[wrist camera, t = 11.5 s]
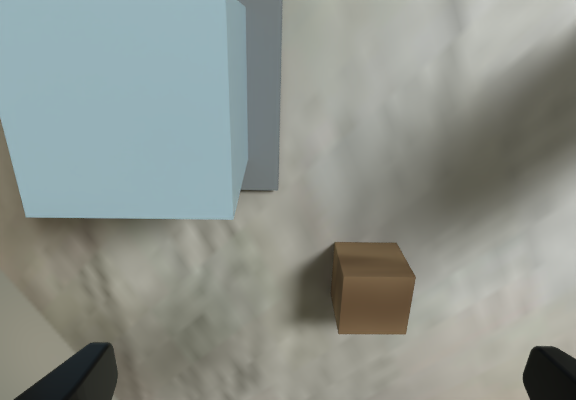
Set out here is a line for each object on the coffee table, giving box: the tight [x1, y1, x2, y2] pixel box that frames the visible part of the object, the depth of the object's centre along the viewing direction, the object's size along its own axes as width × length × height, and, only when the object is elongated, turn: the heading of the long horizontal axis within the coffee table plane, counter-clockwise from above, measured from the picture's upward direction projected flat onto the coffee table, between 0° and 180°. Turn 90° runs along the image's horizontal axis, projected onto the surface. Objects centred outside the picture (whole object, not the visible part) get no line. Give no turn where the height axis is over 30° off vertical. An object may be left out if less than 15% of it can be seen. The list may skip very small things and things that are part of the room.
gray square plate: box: [238, 0, 282, 190], centre depth 19 cm, size 10×10×1 cm
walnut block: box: [331, 242, 416, 334], centre depth 21 cm, size 4×4×4 cm
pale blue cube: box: [0, 0, 248, 220], centre depth 15 cm, size 7×7×7 cm
